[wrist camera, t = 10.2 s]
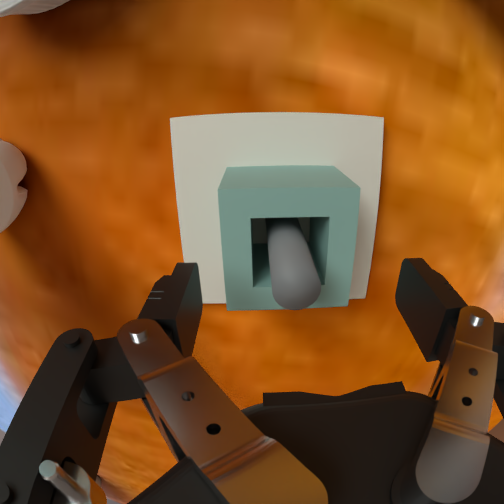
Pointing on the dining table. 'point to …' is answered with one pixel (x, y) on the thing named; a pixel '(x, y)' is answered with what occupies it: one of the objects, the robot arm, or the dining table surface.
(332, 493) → the robot arm
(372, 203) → the post stand
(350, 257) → the collar
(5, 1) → the ramekin
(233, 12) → the dining table surface
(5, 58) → the dining table surface
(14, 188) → the water bottle
